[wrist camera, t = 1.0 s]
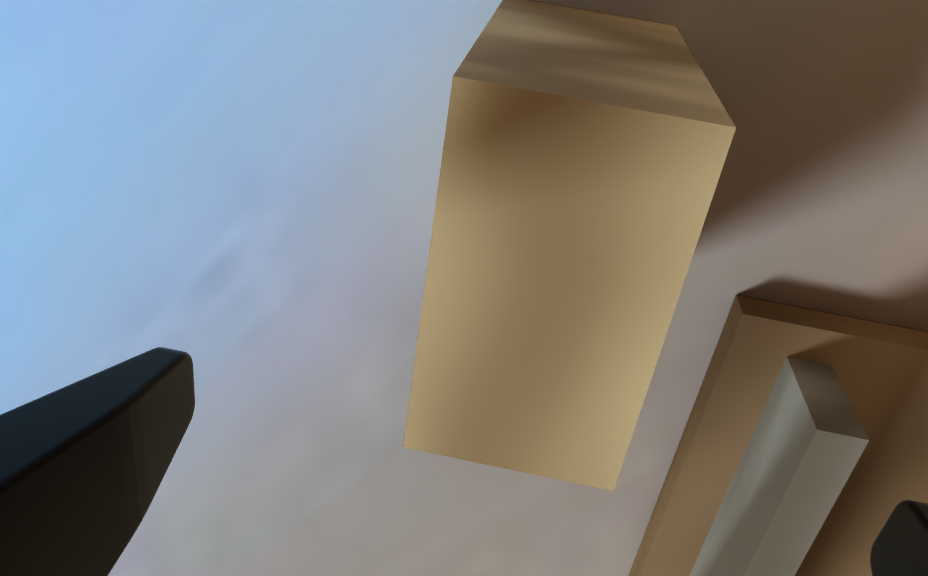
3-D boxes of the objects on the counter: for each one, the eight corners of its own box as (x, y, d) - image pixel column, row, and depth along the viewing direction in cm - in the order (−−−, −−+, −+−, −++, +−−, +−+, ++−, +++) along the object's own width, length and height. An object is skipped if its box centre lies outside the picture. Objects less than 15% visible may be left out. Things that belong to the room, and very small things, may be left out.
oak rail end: (675, 25, 17) (736, 127, 10) (600, 298, 21) (608, 508, 14) (505, -4, 17) (453, 76, 10) (461, 271, 21) (400, 464, 14)
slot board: (1152, 375, 20) (1273, 484, 16) (941, 652, 26) (997, 773, 22) (736, 294, 20) (767, 382, 17) (625, 583, 26) (631, 691, 23)
